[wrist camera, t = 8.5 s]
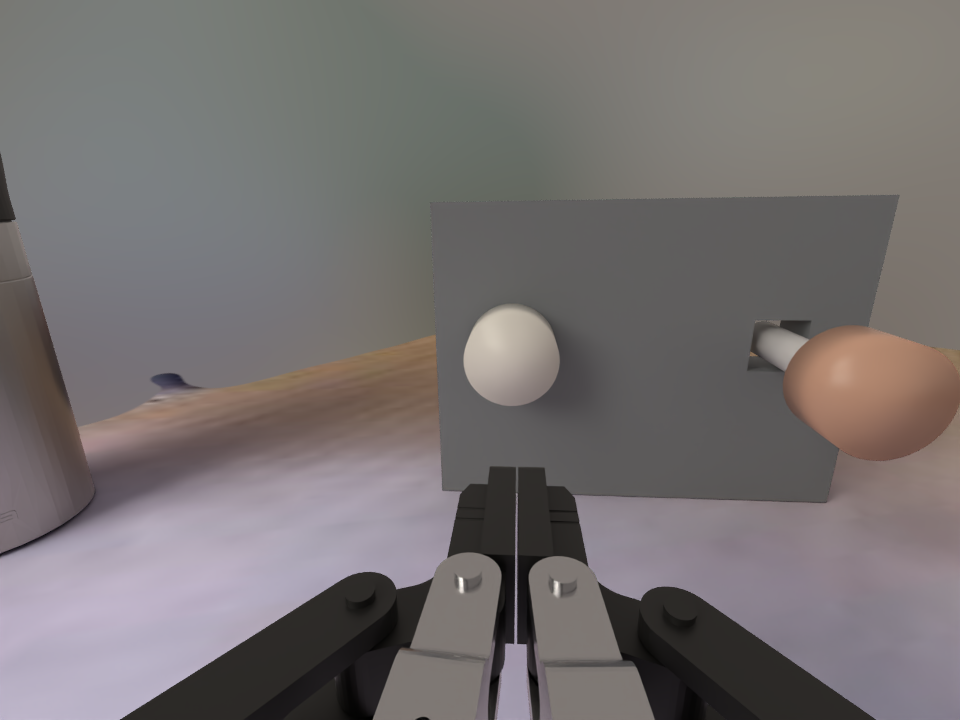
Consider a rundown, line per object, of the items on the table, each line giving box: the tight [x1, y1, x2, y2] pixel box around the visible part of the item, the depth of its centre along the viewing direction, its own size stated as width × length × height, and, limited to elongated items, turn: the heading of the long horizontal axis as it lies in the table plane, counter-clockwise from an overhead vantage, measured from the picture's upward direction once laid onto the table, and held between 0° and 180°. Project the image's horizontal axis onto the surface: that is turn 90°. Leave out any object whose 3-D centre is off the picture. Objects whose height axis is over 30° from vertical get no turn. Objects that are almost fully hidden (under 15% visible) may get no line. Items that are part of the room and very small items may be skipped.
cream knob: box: [464, 303, 560, 406], centre depth 30 cm, size 10×5×5 cm, turn 176°
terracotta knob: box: [750, 321, 960, 461], centre depth 24 cm, size 10×5×5 cm, turn 176°
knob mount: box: [430, 195, 899, 502], centre depth 32 cm, size 8×24×18 cm, turn 86°
